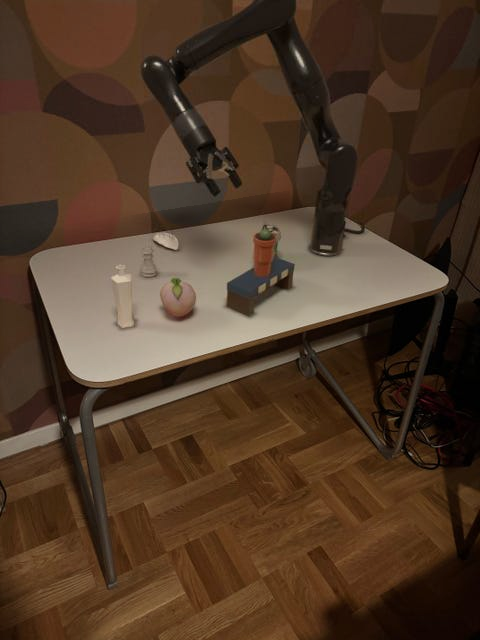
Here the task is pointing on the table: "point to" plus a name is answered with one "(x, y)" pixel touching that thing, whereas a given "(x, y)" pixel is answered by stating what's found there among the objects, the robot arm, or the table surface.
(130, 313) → the perfume bottle
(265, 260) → the pot
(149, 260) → the rook chess piece
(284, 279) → the dark blue bench
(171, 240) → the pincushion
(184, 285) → the decorative fruit
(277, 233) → the wedge shaped tart
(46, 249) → the table surface
